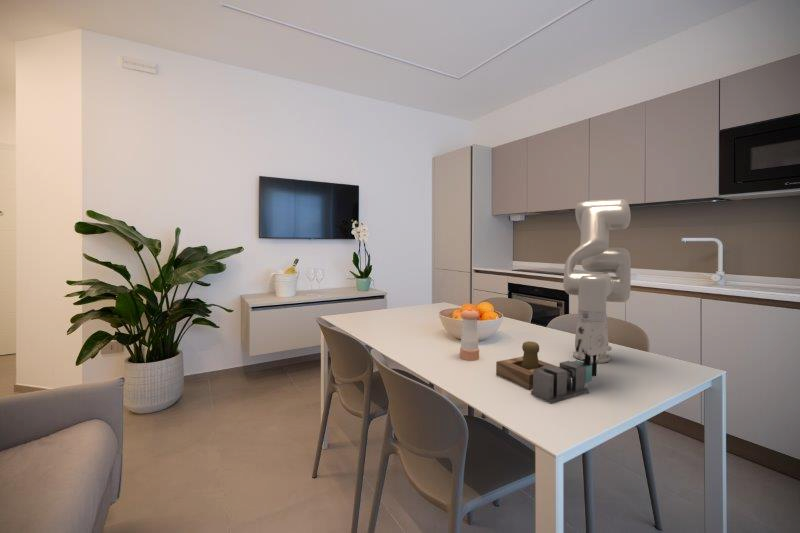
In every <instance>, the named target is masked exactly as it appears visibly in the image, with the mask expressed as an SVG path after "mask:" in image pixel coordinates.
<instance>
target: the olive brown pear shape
mask: <svg viewBox="0 0 800 533" xmlns="http://www.w3.org/2000/svg"><path fill="white" fill-rule="evenodd" d="M521 348H522V351H523V356H522V357H523V362H522V368H525V369H527V370H531V369H536V368H539V363H538V360H539V357H538V356H539V355H538V354H539V352H540V345H539V343H537V342H536V341H530V340H529V341H524V342H523V343H522V347H521Z"/></svg>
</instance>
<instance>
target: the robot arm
mask: <svg viewBox="0 0 800 533" xmlns="http://www.w3.org/2000/svg"><path fill="white" fill-rule="evenodd" d="M629 204H630V203H629V202H628V200H626V199H625V198H615V199H613V198H612V199H611V198H609V199H593V200H592V199H591V200H585V201H581V202H579V203H577V204H576V206H575V209H574V210H575V211H574V212H575V219H576V223H577V226H578V228H579V231H580V240H579V241H580V244H579V246H578V247H576V248H575V249H574V250H573V251H572V252H571V253H570V254H569V256H568V257H567V259H566V261H565V265H564V270H563V272H564V273H563V280H562V281H563V282H562V283H563V290H564V292H565V293H566V294H567V295H570V296H577V301H578V302H577V323H576V329H575V337H574V338H575V339H574V351H573V352H572V356H573V357H574V358H575V359H577V360H578V361H582V362H584V363H587V364H590V365H592V378H593V377H597V371H598V369H597V367H598V366H597V365H598V363H599V364H601V363H604V364H605V363H608V362H610V361H611V357H610V356H609V355H608V354H607V352H610V351H612V346H610V345H609V327H608V323H607V318H608V316H607V302H608V303H625V302H628V301H629V300H630V296H631V277H632V276H631V273H632V272H631V268H632V267H631V266H632V264H631V261H632V259H631V256H630V255H631V254H630V252H629V251H628V249H626V248H624V247H609V246H610V243H609V242H610V231H611V230H612V231H613V230H626V229H627V228H628V227H629V225H630V223H631V219H632V218H631V216H632V215H631V214H632V213H631V208H630V205H629ZM579 263H581V267H582V269H583V270H584V271H586V272H576V271H575V272H574V269H575V267H576V266H577V265H578V264H579ZM609 273H610V274H614V275H615V276H613V275H612V276H610V275H609Z"/></svg>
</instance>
